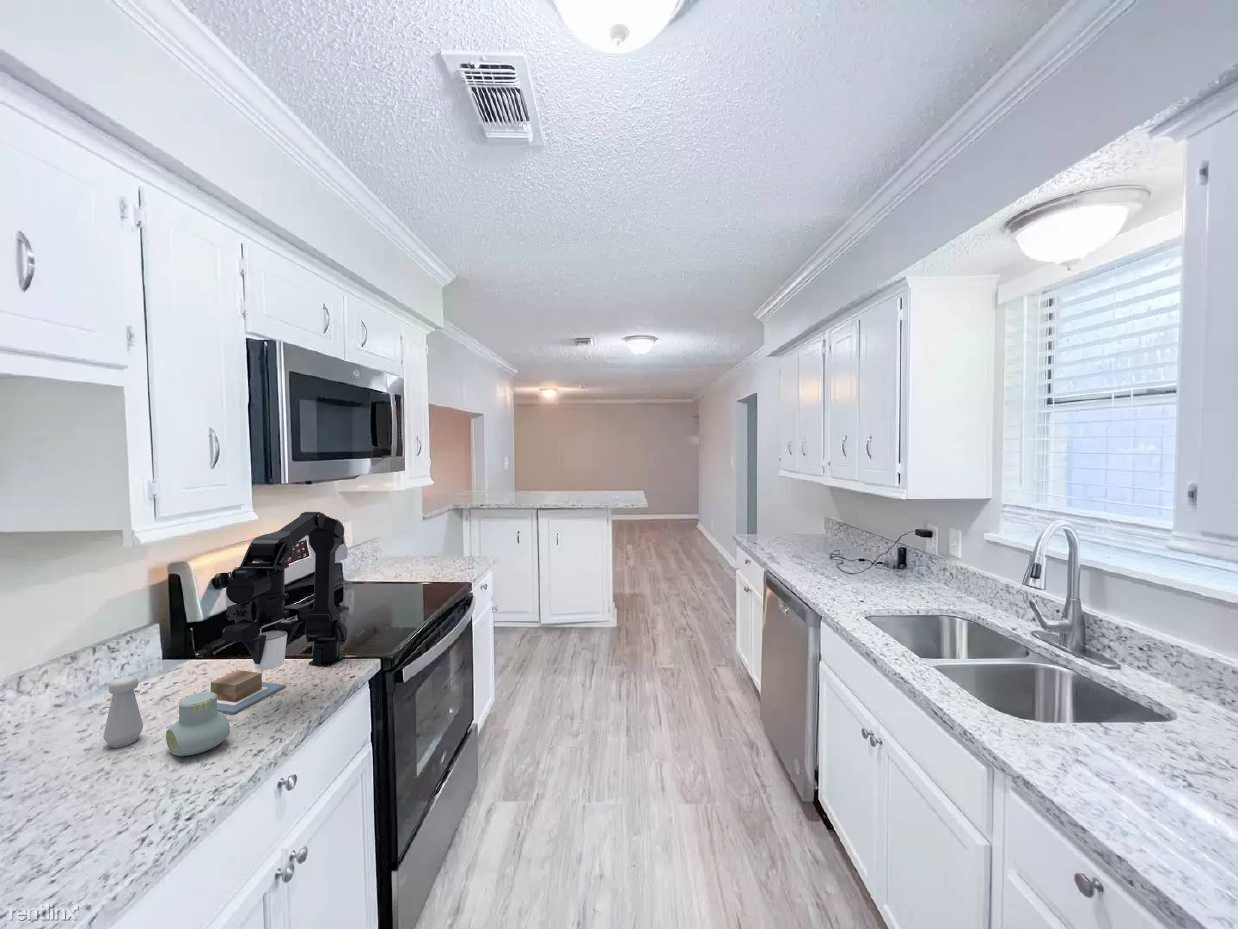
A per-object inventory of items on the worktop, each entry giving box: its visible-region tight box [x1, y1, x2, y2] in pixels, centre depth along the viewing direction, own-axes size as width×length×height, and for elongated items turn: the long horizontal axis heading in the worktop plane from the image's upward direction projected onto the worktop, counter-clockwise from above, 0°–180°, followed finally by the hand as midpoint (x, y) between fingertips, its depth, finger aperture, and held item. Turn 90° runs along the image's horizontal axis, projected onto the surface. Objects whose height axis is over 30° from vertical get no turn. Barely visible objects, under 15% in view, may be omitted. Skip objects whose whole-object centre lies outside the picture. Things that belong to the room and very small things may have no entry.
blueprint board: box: [217, 681, 287, 715], centre depth 124 cm, size 14×14×1 cm
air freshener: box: [165, 691, 231, 757], centre depth 103 cm, size 11×8×10 cm
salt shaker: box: [102, 675, 144, 749], centre depth 104 cm, size 6×6×13 cm
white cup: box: [254, 630, 287, 671], centre depth 120 cm, size 7×7×7 cm
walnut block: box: [210, 669, 263, 702], centre depth 124 cm, size 7×7×4 cm
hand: (269, 658), depth 120 cm, fingers closed on white cup, 6 cm apart
